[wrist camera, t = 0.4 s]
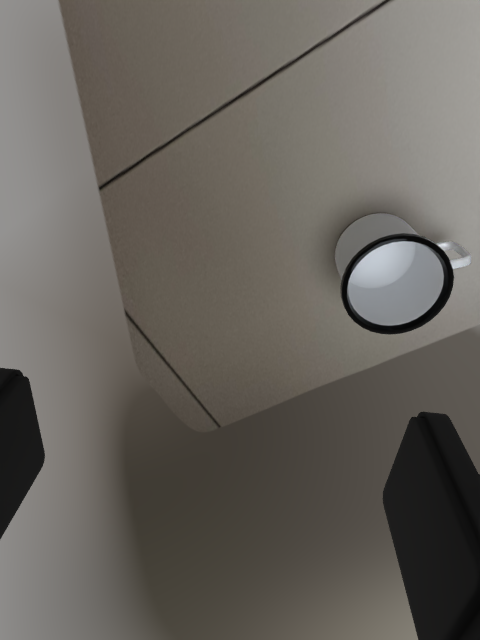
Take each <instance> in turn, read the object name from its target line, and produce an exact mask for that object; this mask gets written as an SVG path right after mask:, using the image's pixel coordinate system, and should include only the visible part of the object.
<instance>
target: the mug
mask: <svg viewBox="0 0 480 640" xmlns="http://www.w3.org/2000/svg"><path fill="white" fill-rule="evenodd" d="M444 250H454V251H456V252H457V253H458V254H460V255H461V256H462V257H463V258H458V259H453V260H449V258H448V256H447V255H446V254H445V252H444ZM335 263H336V266H337V269H338V272H339V275H340V278H341V298H342V302H343V305H344V307H345V309H346V311H347V313H348V315H349V316H350V317H351V318H352V319H353V320H354V322H356V323H357V324H358V325H360V326H361V327H363V328H365V329H367V330H369V331H372V332H376V333H380V334H400V333H404V332H408V331H412V330H414V329H416V328H419V327H421V326H423V325H424V324H426V323H427V322H429V321H430V320H432V319H433V318H434V317H435V316H436V315H437V314H438V313H439V312H440V311H441V310H442V308H443V307H444V306H445V304H446V302H447V301H448V299H449V297H450V294H451V291H452V288H453V280H454V275H453V269H456V268H460V267H464V266H467V265H469V264H470V263H471V254H470V253H469V252H468V251H467V250H466V249H465V248H464V247H462V246H461V245H459V244H458V243H456V242H453V241H447V242H440V243H435V242H434V241H432V240H430V239H428V238H426V237H423V236H419V235H418V234H417V233H416V232H415V230H414V229H413V228H412V227H411V226H410V225H409V224H408V223H407V222H405V221H404V220H403V219H401V218H399V217H397V216H395V215H391V214H386V213H377V214H370V215H367V216H364V217H362V218H360V219H358V220H356V221H355V222H353V223H352V224H351V225H349V226H348V227H347V229H346V230H345V231H344V232H343V233H342V235H341V237H340V238H339V240H338V243H337V245H336V250H335Z"/></svg>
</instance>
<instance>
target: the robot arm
mask: <svg viewBox="0 0 480 640" xmlns="http://www.w3.org/2000/svg"><path fill="white" fill-rule="evenodd" d="M44 458H45V453H44V448H43V443H42V438H41V434H40V429H39V424H38V420H37V415H36V410H35V405H34V401H33V397H32V391H31V387H30V382H29V379H28V378H27V377H24V376H23V374H22V372H21V371H20V370H15V369H5V368H0V539H1V537H2V535H3V534H4V532H5V530H6V529H7V527H8V525H9V523H10V521H11V520H12V518H13V516H14V515H15V513H16V511H17V510H18V508H19V506H20V504H21V503H22V501H23V499H24V498H25V496H26V494H27V492H28V490H29V489H30V487H31V486H32V484H33V482H34V480H35V479H36V477H37V475H38V473H39V472H40V470H41V468H42V466H43V463H44ZM383 504H384V509H385V512H386V516H387V520H388V524H389V528H390V532H391V535H392V539H393V543H394V547H395V550H396V555H397V559H398V562H399V566H400V570H401V574H402V578H403V582H404V586H405V590H406V593H407V597H408V601H409V605H410V609H411V613H412V616H413V620H414V624H415V628H416V632H417V636H418V640H480V475H479V474H478V472H477V471H476V468H475V466H474V465H473V462H472V461H471V459H470V457H469V455H468V453H467V451H466V449H465V447H464V445H463V443H462V441H461V439H460V437H459V435H458V433H457V431H456V429H455V428H454V426H453V424H452V422H451V420H450V418H449V417H448V416H447V415H446V414H439V413H428V412H420V413H419V414H418V416H417V417H412V418H411V419H410V421H409V424H408V426H407V429H406V432H405V434H404V437H403V440H402V442H401V445H400V448H399V450H398V453H397V456H396V458H395V461H394V464H393V466H392V469H391V472H390V475H389V477H388V480H387V482H386V485H385V488H384V491H383Z"/></svg>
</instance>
